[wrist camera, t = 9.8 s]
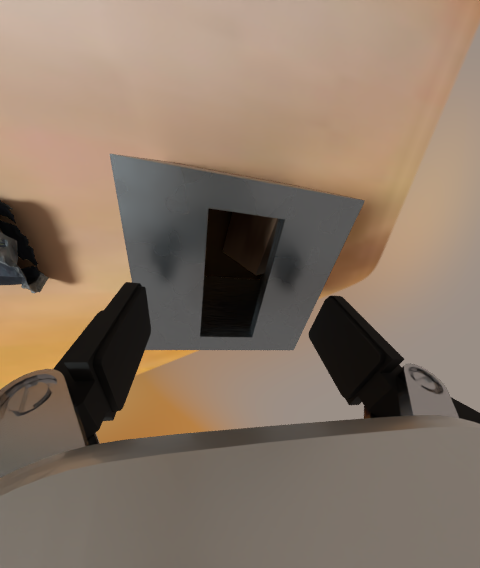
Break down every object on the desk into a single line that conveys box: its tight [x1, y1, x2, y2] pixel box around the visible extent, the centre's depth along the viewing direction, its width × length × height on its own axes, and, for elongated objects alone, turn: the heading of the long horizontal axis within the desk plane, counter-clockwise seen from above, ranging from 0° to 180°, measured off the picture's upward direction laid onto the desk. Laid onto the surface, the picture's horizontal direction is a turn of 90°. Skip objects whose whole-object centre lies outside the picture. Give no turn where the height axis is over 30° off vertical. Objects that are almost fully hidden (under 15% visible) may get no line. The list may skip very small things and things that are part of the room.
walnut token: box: [222, 212, 279, 275], centre depth 17 cm, size 6×2×5 cm
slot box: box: [110, 154, 364, 350], centre depth 16 cm, size 12×12×10 cm
